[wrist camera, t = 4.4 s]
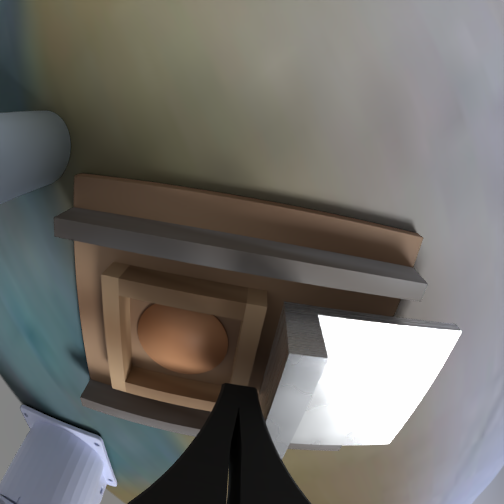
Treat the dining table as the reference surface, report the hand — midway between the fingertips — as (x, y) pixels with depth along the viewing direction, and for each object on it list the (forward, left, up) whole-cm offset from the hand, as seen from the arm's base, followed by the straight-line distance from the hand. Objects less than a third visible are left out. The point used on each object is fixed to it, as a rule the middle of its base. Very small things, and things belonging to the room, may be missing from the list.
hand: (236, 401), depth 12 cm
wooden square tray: (0, +1, -4) cm, 4 cm away
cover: (0, -5, -2) cm, 5 cm away
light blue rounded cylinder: (+8, +11, -4) cm, 14 cm away
